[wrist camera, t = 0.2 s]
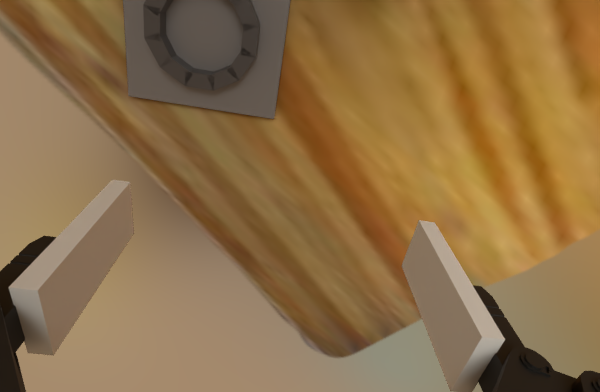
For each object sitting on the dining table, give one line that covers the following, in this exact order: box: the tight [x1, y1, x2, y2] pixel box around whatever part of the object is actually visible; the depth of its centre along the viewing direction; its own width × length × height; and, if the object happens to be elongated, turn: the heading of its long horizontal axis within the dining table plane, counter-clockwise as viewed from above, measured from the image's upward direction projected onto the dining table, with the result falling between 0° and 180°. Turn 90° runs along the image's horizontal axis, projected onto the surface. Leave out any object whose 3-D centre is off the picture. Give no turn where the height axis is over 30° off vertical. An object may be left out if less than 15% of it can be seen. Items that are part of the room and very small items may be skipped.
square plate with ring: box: [123, 0, 290, 119], centre depth 37 cm, size 16×16×3 cm
